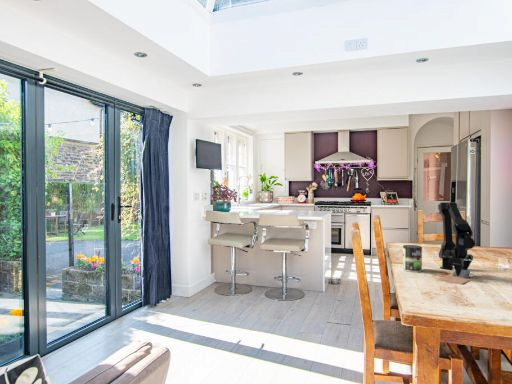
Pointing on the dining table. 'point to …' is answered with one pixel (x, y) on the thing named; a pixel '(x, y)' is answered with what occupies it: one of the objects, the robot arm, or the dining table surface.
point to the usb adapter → (463, 273)
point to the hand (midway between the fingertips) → (461, 274)
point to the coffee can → (412, 258)
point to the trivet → (453, 279)
